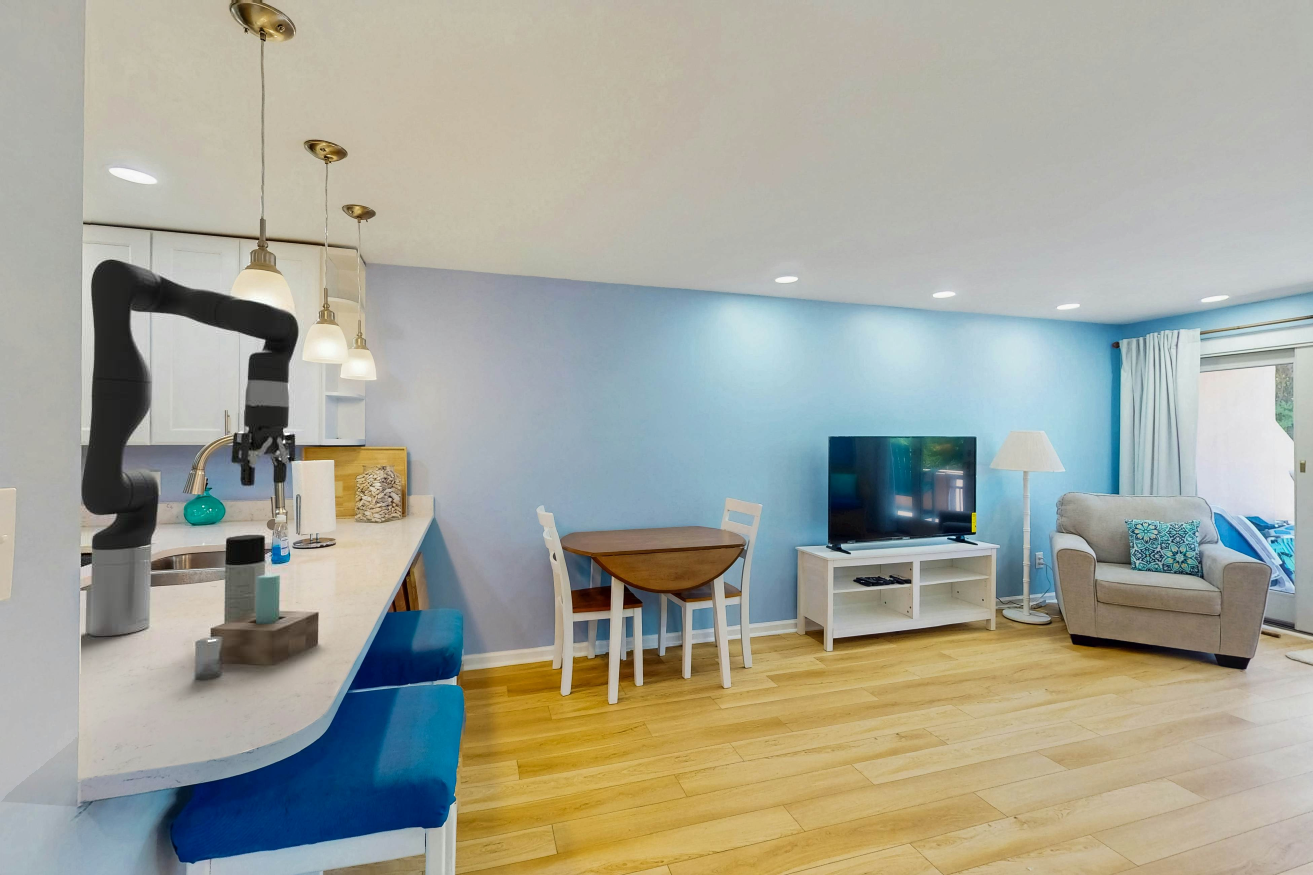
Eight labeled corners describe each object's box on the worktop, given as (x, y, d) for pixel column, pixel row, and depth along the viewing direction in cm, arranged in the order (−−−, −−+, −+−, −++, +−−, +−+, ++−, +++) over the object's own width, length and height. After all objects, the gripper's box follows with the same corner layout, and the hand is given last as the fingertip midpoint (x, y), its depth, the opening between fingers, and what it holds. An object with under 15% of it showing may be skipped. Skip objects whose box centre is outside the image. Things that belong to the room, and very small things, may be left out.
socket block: (209, 662, 107) (210, 628, 107) (260, 640, 119) (260, 609, 119) (273, 665, 106) (274, 630, 106) (318, 642, 118) (318, 611, 118)
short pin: (189, 680, 99) (189, 643, 99) (207, 671, 103) (207, 636, 103) (209, 681, 99) (210, 644, 99) (227, 672, 102) (227, 637, 102)
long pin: (250, 654, 111) (252, 578, 111) (265, 648, 115) (266, 574, 115) (269, 655, 111) (270, 578, 111) (283, 649, 114) (284, 574, 114)
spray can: (272, 633, 124) (273, 535, 124) (239, 643, 117) (241, 539, 117) (248, 630, 126) (250, 533, 126) (215, 639, 119) (217, 538, 120)
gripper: (275, 406, 130) (272, 481, 130) (221, 401, 116) (217, 485, 116) (308, 407, 130) (305, 483, 129) (257, 402, 116) (254, 487, 115)
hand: (263, 484), depth 123 cm, fingers open, 8 cm apart
